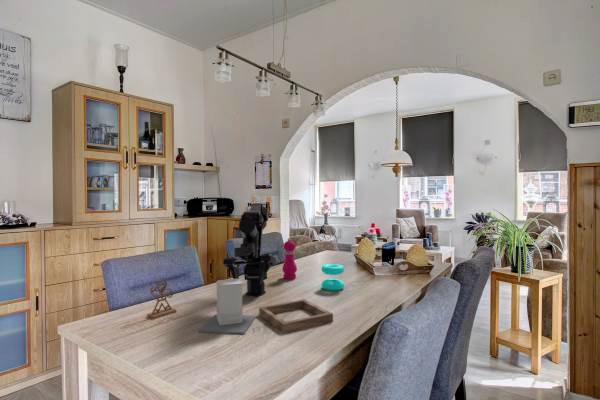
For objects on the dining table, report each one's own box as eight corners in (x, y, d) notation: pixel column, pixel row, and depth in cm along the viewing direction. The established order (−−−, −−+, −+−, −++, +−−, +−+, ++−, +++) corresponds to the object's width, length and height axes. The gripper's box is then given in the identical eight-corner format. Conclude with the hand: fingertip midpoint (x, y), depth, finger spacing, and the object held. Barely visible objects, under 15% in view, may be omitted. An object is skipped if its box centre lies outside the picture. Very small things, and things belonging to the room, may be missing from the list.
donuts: (346, 264, 153) (340, 268, 144) (346, 286, 153) (340, 292, 144) (325, 262, 157) (318, 266, 148) (325, 284, 157) (318, 290, 148)
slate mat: (215, 316, 116) (215, 314, 116) (255, 317, 115) (255, 315, 115) (198, 332, 102) (198, 330, 102) (244, 334, 101) (244, 332, 101)
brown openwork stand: (170, 309, 123) (170, 276, 123) (176, 312, 121) (176, 278, 120) (146, 317, 116) (146, 281, 116) (153, 319, 113) (152, 283, 113)
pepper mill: (298, 277, 172) (298, 237, 172) (294, 280, 165) (293, 238, 165) (285, 275, 174) (285, 236, 174) (280, 279, 167) (279, 238, 167)
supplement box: (243, 323, 108) (242, 283, 108) (219, 326, 105) (218, 285, 105) (238, 315, 115) (238, 277, 115) (216, 318, 112) (216, 279, 112)
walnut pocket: (259, 314, 117) (259, 307, 117) (304, 306, 126) (304, 299, 126) (283, 332, 102) (283, 324, 102) (332, 321, 111) (332, 313, 111)
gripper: (217, 238, 123) (212, 282, 116) (265, 233, 118) (264, 278, 112) (231, 247, 133) (228, 288, 126) (276, 243, 128) (275, 285, 121)
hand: (247, 285), depth 121 cm, fingers open, 9 cm apart
